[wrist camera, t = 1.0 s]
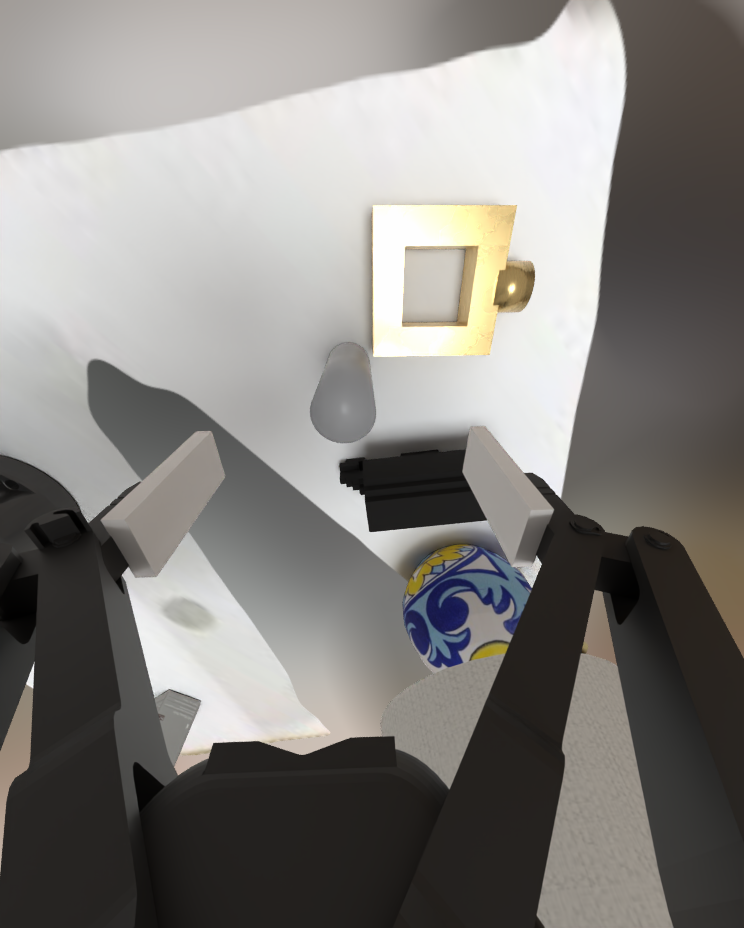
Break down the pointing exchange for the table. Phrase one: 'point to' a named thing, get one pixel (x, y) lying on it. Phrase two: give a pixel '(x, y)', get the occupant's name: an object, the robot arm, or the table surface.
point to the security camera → (413, 490)
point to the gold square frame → (483, 282)
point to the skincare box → (175, 720)
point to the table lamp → (584, 743)
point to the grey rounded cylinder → (344, 396)
